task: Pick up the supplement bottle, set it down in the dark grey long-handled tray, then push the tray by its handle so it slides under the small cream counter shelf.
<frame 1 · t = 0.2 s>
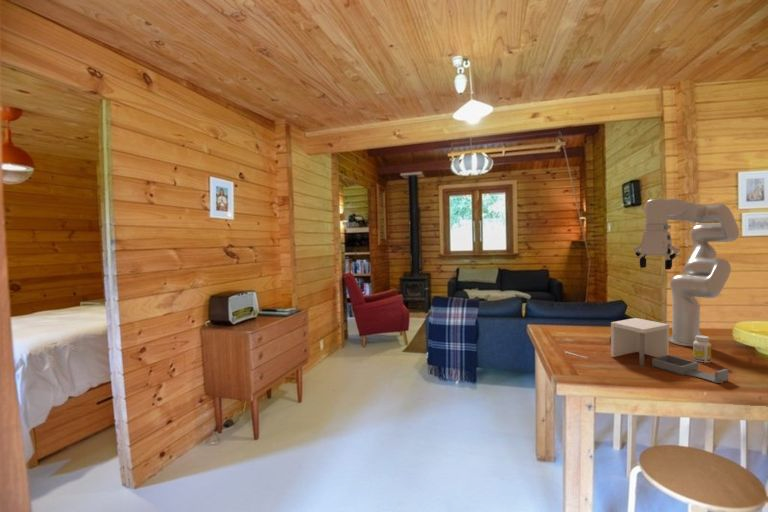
hand: (655, 268, 155), 36 cm above the table, tool pointing down, fingers open, 9 cm apart
bread roll: (621, 344, 168), on the table
counter: (638, 357, 149), on the table
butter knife: (588, 359, 151), on the table
tray: (674, 368, 137), on the table
supplement bottle: (701, 361, 145), on the table
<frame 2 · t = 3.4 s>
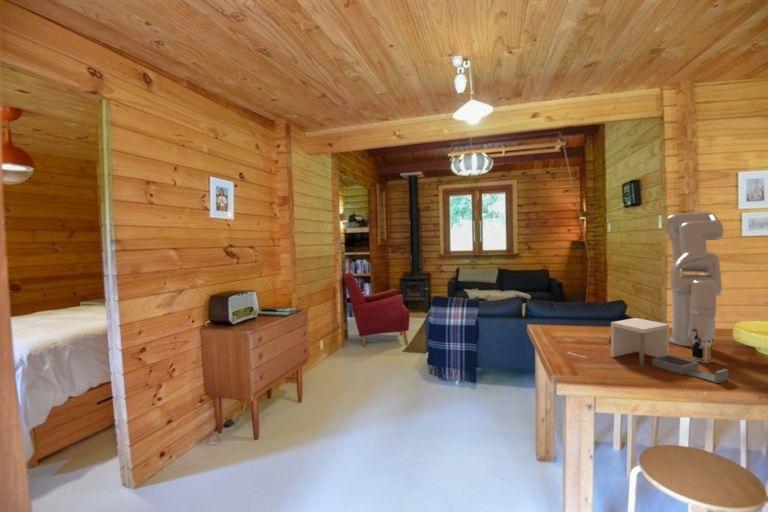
hand: (701, 355, 144), 2 cm above the table, tool pointing down, fingers closed on supplement bottle, 5 cm apart
supplement bottle: (701, 361, 145), on the table, touching gripper
everything else where it was.
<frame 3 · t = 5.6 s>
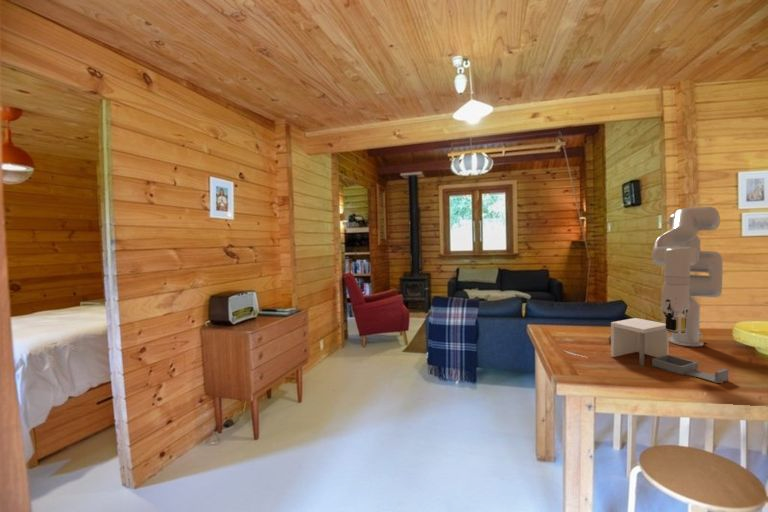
hand: (675, 328, 137), 16 cm above the table, tool pointing down, fingers closed on supplement bottle, 5 cm apart
supplement bottle: (675, 333, 137), point 13 cm above the table, touching gripper
everything else where it was.
when the fingers open (4 cm above the table, at t = 8.1 s): supplement bottle drops 1 cm, resting on tray.
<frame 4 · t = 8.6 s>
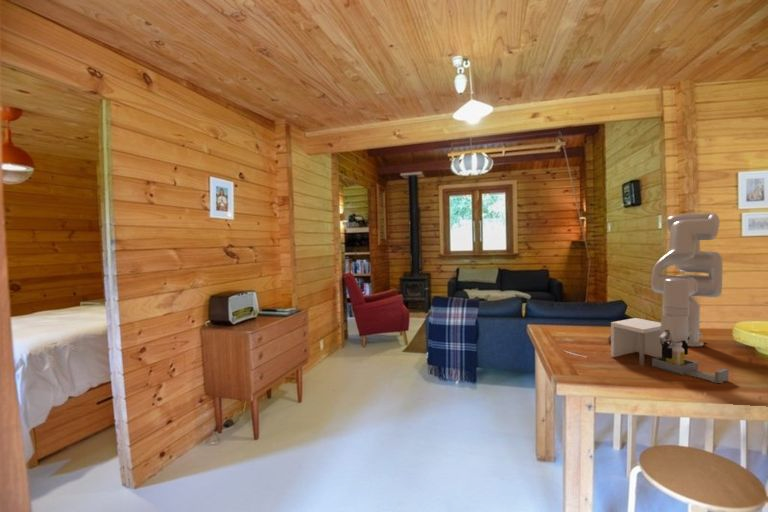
hand: (674, 355, 137), 5 cm above the table, tool pointing down, fingers open, 9 cm apart
tray: (674, 368, 137), on the table, touching supplement bottle
supplement bottle: (674, 367, 138), resting on tray
everything else where it was.
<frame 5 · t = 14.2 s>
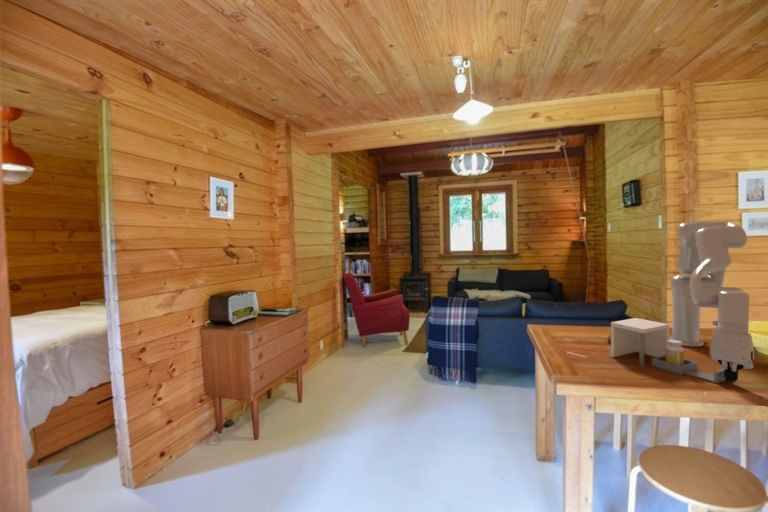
hand: (730, 381, 122), 1 cm above the table, tool pointing down, fingers closed
tray: (674, 368, 138), on the table, touching supplement bottle, gripper
everything else where it was.
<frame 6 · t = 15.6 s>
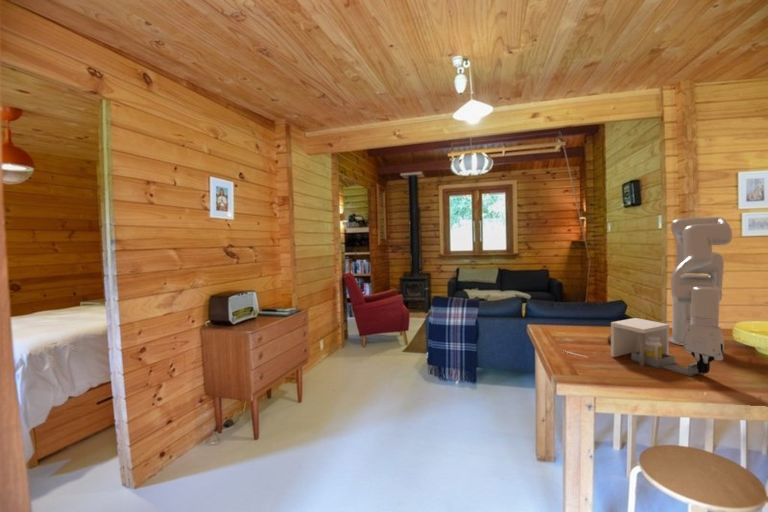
hand: (703, 372, 129), 2 cm above the table, tool pointing down, fingers closed
tray: (652, 362, 144), on the table, touching supplement bottle, gripper
supplement bottle: (653, 361, 144), resting on tray
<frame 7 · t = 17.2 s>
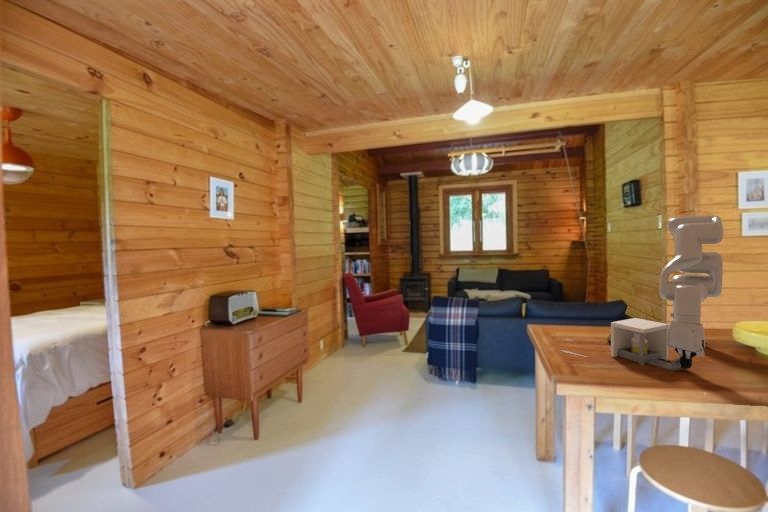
hand: (685, 367, 134), 2 cm above the table, tool pointing down, fingers closed
tray: (638, 358, 149), on the table, touching supplement bottle, gripper
supplement bottle: (639, 357, 149), resting on tray
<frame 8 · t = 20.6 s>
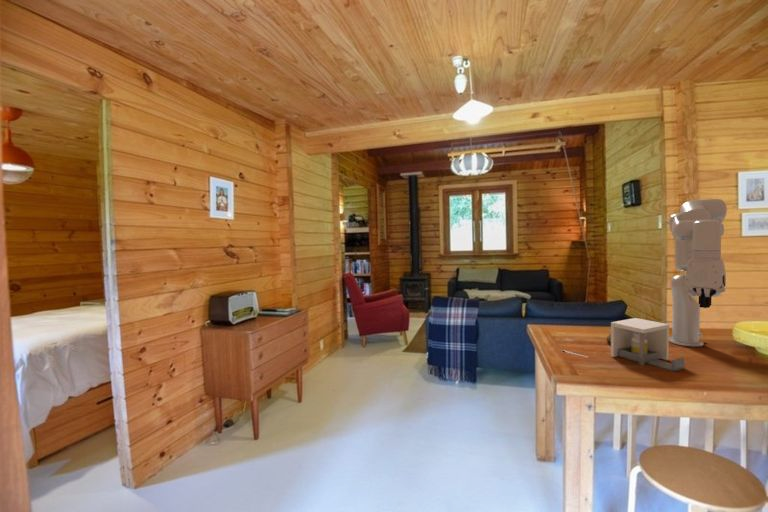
hand: (704, 307, 128), 25 cm above the table, tool pointing down, fingers closed
tray: (638, 358, 149), on the table, touching supplement bottle
at the end: tray 0.4 cm off-centre on the counter, point 0.0 cm above the counter's base; supplement bottle 0.3 cm from the tray (horizontally); supplement bottle tilted 0° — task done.
